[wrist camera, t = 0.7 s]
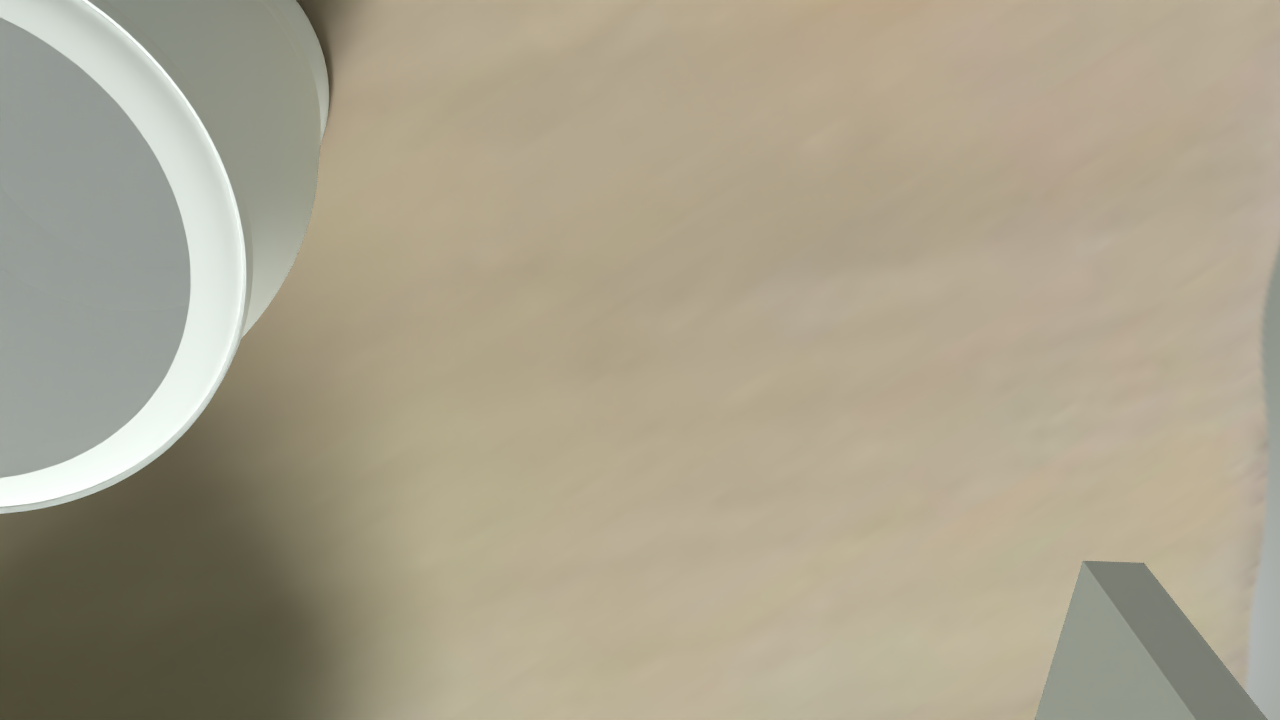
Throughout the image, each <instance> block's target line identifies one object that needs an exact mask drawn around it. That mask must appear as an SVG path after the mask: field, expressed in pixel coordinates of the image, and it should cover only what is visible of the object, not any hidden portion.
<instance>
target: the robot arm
mask: <svg viewBox="0 0 1280 720" xmlns="http://www.w3.org/2000/svg"><path fill="white" fill-rule="evenodd" d="M1035 720H1267V718H1266V717H1265V716H1264V715H1263V713H1262V712H1261V711H1260V709H1259V708H1258V707H1257V706H1256V704H1255V703H1254V702H1253V701H1252V699H1251V698H1250V697H1249V695H1248V694H1247V693H1246V692H1245V690H1244V689H1243V688H1242V687H1241V685H1240V684H1239V683H1238V682H1237V680H1236V679H1235V678H1234V677H1233V675H1232V674H1231V673H1230V671H1229V670H1228V669H1227V668H1226V666H1225V665H1224V664H1223V663H1222V661H1221V660H1220V659H1219V658H1218V656H1217V655H1216V654H1215V652H1214V651H1213V650H1212V649H1211V647H1210V646H1209V645H1208V644H1207V642H1206V641H1205V640H1204V639H1203V637H1202V636H1201V635H1200V633H1199V632H1198V631H1197V630H1196V628H1195V627H1194V626H1193V625H1192V623H1191V622H1190V621H1189V620H1188V618H1187V617H1186V616H1185V614H1184V613H1183V612H1182V611H1181V609H1180V608H1179V607H1178V606H1177V604H1176V603H1175V602H1174V601H1173V599H1172V598H1171V597H1170V596H1169V594H1168V593H1167V592H1166V590H1165V589H1164V588H1163V587H1162V585H1161V584H1160V583H1159V582H1158V580H1157V579H1156V578H1155V577H1154V575H1153V574H1152V573H1151V571H1150V570H1149V569H1148V568H1147V566H1146V565H1145V564H1144V563H1130V562H1102V561H1083V562H1082V566H1081V569H1080V572H1079V575H1078V579H1077V582H1076V585H1075V589H1074V592H1073V595H1072V598H1071V602H1070V605H1069V608H1068V612H1067V615H1066V618H1065V621H1064V625H1063V628H1062V631H1061V635H1060V638H1059V641H1058V644H1057V648H1056V651H1055V654H1054V658H1053V661H1052V664H1051V667H1050V671H1049V674H1048V677H1047V681H1046V684H1045V687H1044V690H1043V694H1042V697H1041V700H1040V704H1039V707H1038V710H1037V713H1036V717H1035Z"/></svg>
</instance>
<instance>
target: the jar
mask: <svg viewBox="0 0 1280 720" xmlns="http://www.w3.org/2000/svg"><path fill="white" fill-rule="evenodd" d="M328 109H329V84H328V75H327V69H326V64H325V60H324V56H323V52H322V49H321V46H320V43H319V41H318V38H317V36H316V33H315V31H314V29H313V27H312V25H311V23H310V21H309V19H308V18H307V16H306V14H305V13H304V11H303V9H302V8H301V6H300V5H299V4H298V2H297V1H296V0H0V514H3V513H14V512H22V511H29V510H36V509H41V508H46V507H51V506H55V505H59V504H63V503H66V502H70V501H73V500H76V499H79V498H82V497H85V496H88V495H91V494H93V493H96V492H98V491H101V490H103V489H105V488H108V487H110V486H112V485H114V484H116V483H118V482H120V481H122V480H124V479H125V478H127V477H129V476H131V475H132V474H134V473H136V472H137V471H139V470H141V469H142V468H144V467H145V466H147V465H148V464H149V463H151V462H152V461H154V460H155V459H156V458H158V457H159V456H160V455H161V454H163V453H164V452H165V451H166V450H167V449H169V448H170V447H171V446H172V445H173V444H174V443H175V442H176V441H177V440H178V439H179V438H180V437H181V436H182V435H183V434H184V433H185V432H186V431H187V430H188V429H189V428H190V427H191V425H192V424H193V423H194V422H195V421H196V419H197V418H198V417H199V416H200V414H201V413H202V412H203V410H204V409H205V407H206V406H207V405H208V403H209V402H210V400H211V398H212V397H213V395H214V394H215V392H216V390H217V389H218V387H219V385H220V384H221V382H222V380H223V378H224V377H225V375H226V373H227V371H228V369H229V367H230V364H231V362H232V360H233V358H234V356H235V353H236V351H237V349H238V346H239V343H240V341H241V338H242V337H243V336H244V335H245V334H246V333H247V332H248V331H249V329H250V328H251V327H252V326H253V325H254V324H255V322H256V321H257V320H258V319H259V317H260V316H261V315H262V313H263V312H264V311H265V309H266V308H267V307H268V305H269V304H270V302H271V301H272V300H273V298H274V297H275V295H276V293H277V292H278V290H279V289H280V287H281V285H282V284H283V282H284V280H285V278H286V277H287V275H288V273H289V271H290V269H291V267H292V265H293V263H294V261H295V259H296V256H297V254H298V252H299V249H300V247H301V244H302V242H303V239H304V236H305V233H306V230H307V227H308V224H309V220H310V217H311V213H312V209H313V204H314V199H315V194H316V187H317V178H318V164H319V154H320V144H321V141H322V138H323V135H324V131H325V128H326V123H327V117H328Z"/></svg>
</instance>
